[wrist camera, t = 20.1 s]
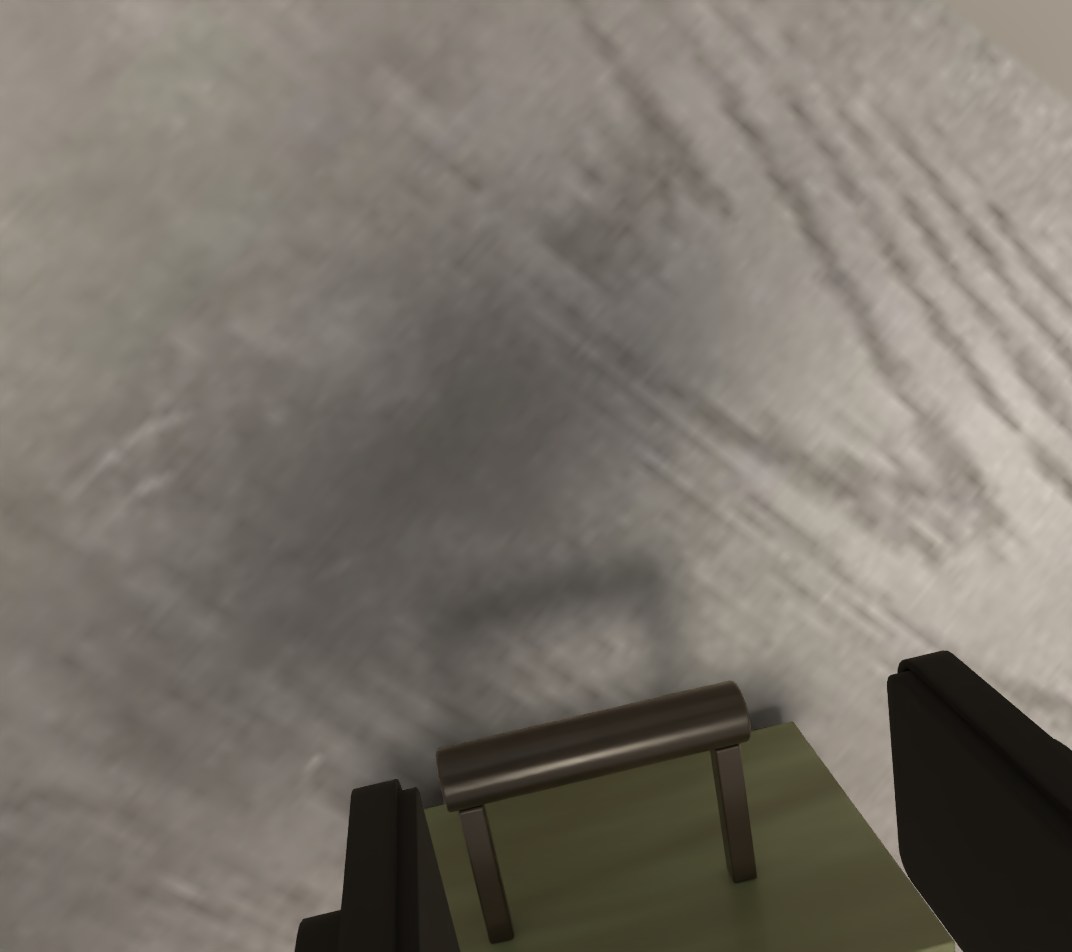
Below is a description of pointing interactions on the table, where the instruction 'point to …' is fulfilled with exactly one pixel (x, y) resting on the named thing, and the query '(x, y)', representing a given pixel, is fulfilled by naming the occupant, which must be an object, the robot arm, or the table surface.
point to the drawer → (665, 839)
